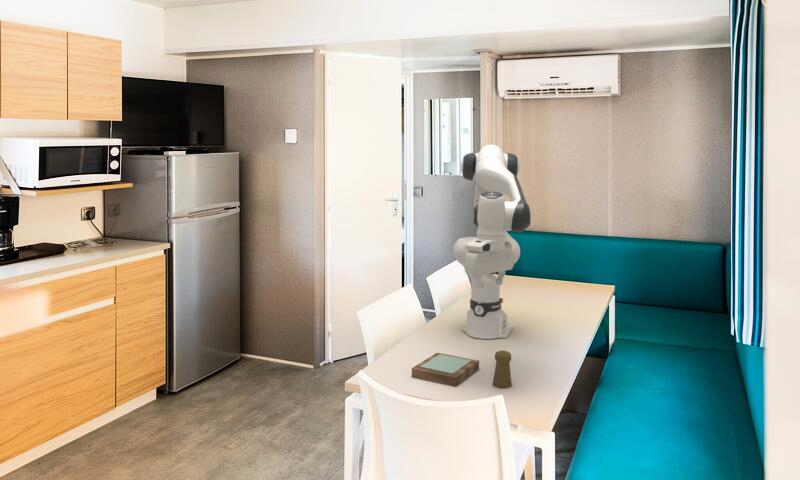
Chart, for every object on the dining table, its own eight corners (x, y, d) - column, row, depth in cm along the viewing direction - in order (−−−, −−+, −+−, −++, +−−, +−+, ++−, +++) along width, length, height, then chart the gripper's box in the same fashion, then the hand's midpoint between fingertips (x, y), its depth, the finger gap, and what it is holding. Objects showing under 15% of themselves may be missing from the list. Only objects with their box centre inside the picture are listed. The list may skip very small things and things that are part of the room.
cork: (509, 381, 210) (510, 348, 208) (513, 388, 204) (514, 354, 202) (491, 381, 210) (492, 348, 208) (494, 388, 204) (495, 354, 202)
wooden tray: (437, 360, 229) (437, 351, 228) (479, 369, 221) (479, 359, 220) (411, 376, 213) (411, 367, 213) (455, 386, 205) (455, 376, 205)
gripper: (503, 239, 215) (502, 281, 217) (461, 245, 202) (460, 289, 204) (518, 241, 211) (517, 283, 213) (477, 247, 197) (476, 292, 199)
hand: (489, 286), depth 208 cm, fingers open, 8 cm apart
